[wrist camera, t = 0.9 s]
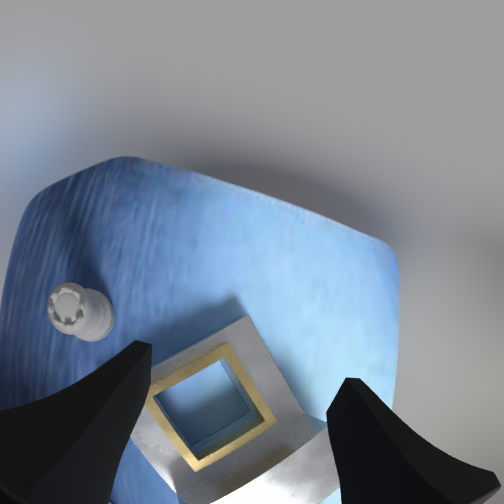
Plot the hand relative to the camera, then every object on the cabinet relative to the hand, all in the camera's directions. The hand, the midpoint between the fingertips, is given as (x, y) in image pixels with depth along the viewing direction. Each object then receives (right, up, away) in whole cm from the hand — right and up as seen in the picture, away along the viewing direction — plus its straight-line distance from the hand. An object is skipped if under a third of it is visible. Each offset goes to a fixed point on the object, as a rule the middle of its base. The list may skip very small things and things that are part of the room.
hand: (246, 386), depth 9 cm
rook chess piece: (-14, -1, +12) cm, 18 cm away
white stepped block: (-2, -13, +12) cm, 18 cm away
